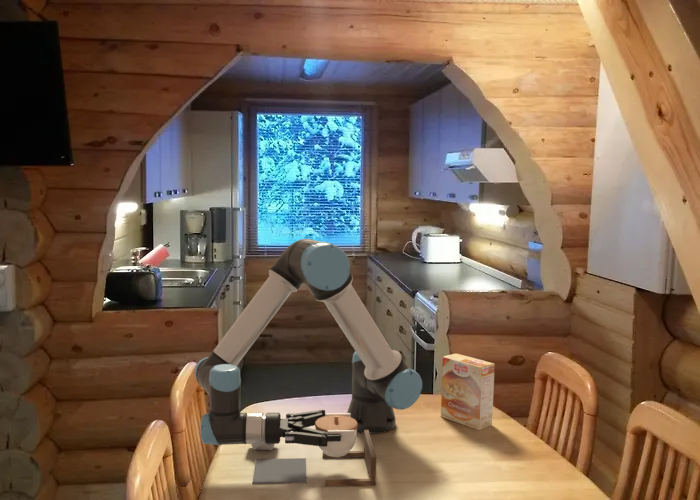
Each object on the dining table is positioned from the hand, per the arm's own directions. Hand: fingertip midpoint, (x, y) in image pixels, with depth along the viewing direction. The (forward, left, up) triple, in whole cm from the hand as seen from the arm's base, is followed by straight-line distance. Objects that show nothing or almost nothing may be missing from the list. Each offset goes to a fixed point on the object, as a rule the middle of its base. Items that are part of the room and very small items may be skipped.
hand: (352, 426), depth 160 cm
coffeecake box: (-41, -29, -12) cm, 51 cm away
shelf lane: (+1, 0, -11) cm, 11 cm away
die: (+22, -17, -12) cm, 30 cm away
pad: (+18, -2, -11) cm, 21 cm away
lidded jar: (+4, 0, -7) cm, 8 cm away
